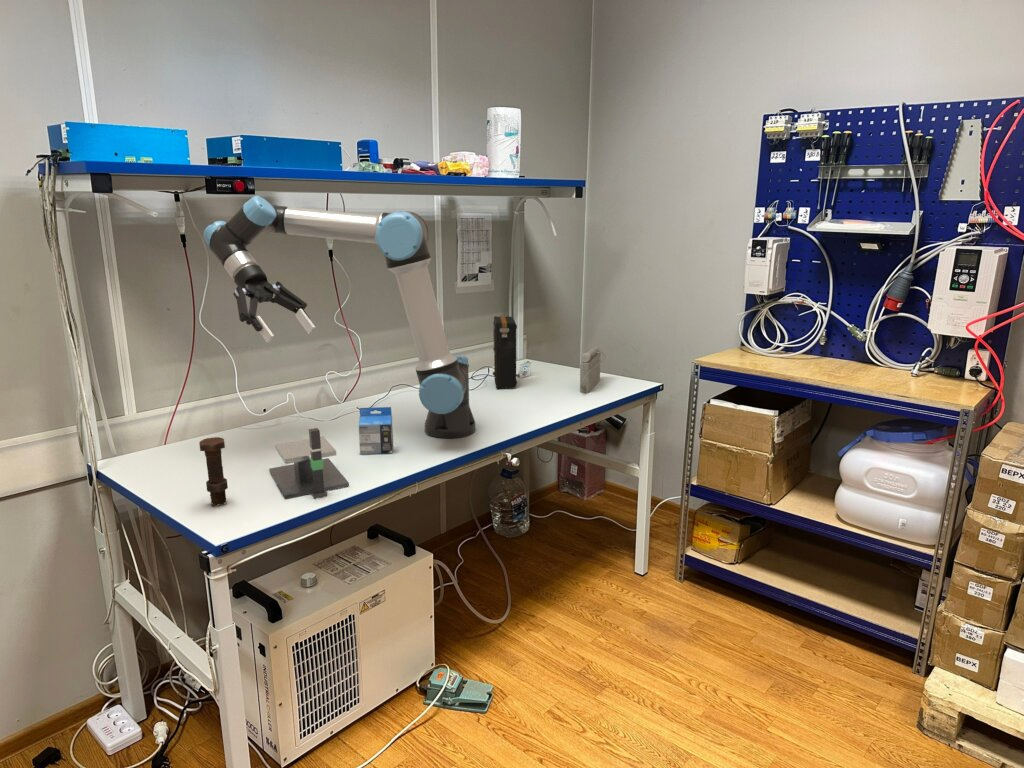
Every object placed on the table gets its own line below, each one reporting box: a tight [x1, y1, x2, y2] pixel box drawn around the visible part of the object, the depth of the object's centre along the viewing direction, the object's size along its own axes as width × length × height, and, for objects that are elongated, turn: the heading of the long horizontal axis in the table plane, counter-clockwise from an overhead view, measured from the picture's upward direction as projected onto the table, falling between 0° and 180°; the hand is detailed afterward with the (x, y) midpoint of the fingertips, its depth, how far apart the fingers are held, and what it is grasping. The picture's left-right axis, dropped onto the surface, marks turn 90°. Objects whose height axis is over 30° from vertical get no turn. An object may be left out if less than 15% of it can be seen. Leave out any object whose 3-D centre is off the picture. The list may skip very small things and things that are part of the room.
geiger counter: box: [579, 345, 606, 394], centre depth 252 cm, size 14×6×25 cm
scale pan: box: [274, 436, 337, 465], centre depth 168 cm, size 12×16×7 cm
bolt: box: [199, 436, 229, 507], centre depth 155 cm, size 6×5×15 cm
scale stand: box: [268, 427, 350, 500], centre depth 167 cm, size 15×22×16 cm
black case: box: [492, 315, 518, 390], centre depth 256 cm, size 16×9×25 cm, turn 4°
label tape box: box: [358, 406, 394, 455], centre depth 188 cm, size 9×4×12 cm, turn 95°
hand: (292, 335), depth 176 cm, fingers open, 13 cm apart
